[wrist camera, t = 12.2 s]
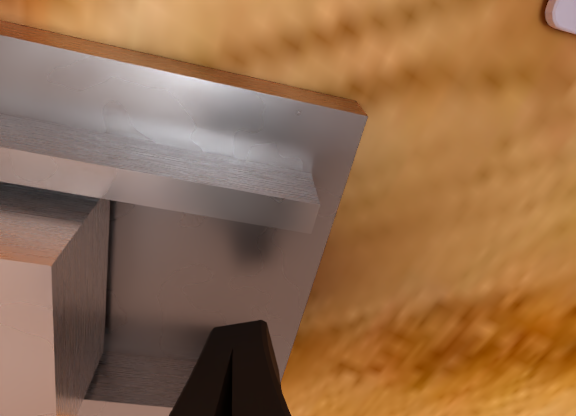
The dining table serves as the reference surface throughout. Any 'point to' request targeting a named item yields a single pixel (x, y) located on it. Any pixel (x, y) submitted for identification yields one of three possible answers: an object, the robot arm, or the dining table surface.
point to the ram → (50, 298)
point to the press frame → (178, 196)
